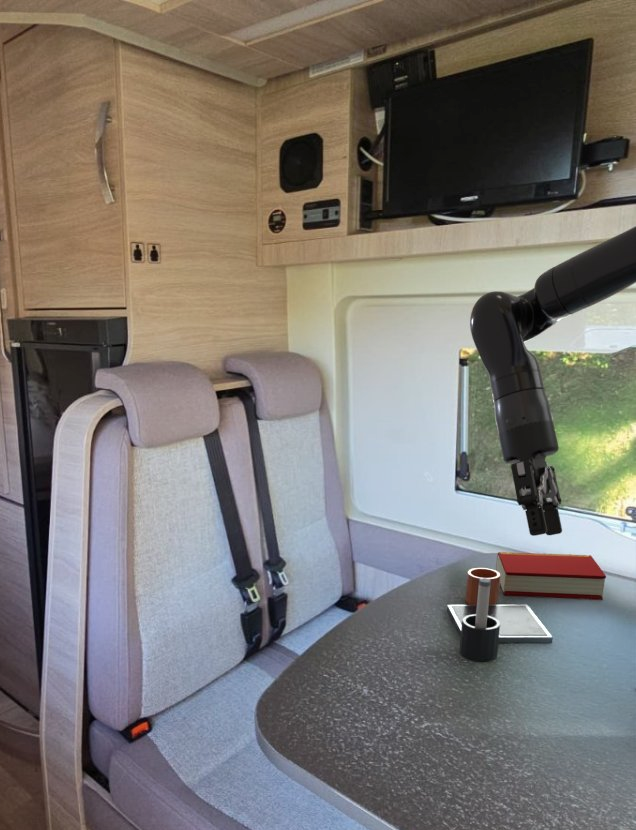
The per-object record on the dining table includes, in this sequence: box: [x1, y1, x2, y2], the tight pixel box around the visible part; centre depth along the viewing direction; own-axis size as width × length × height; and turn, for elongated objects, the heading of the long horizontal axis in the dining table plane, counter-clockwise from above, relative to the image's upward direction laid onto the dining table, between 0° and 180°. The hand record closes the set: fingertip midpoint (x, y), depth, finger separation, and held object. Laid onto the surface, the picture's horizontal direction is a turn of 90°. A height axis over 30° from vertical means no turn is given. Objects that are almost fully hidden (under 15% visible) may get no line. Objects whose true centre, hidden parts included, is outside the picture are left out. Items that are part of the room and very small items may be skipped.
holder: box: [459, 614, 500, 663], centre depth 122 cm, size 6×6×6 cm
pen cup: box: [464, 567, 500, 605], centre depth 142 cm, size 6×6×6 cm
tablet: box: [446, 604, 554, 644], centre depth 132 cm, size 15×14×1 cm
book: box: [495, 551, 607, 601], centre depth 148 cm, size 18×13×5 cm
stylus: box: [475, 578, 491, 628], centre depth 120 cm, size 2×2×13 cm
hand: (547, 534), depth 104 cm, fingers open, 8 cm apart
